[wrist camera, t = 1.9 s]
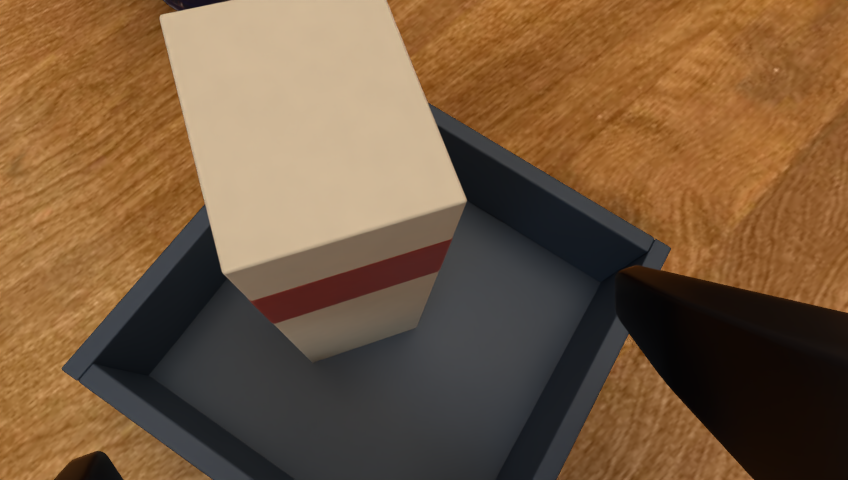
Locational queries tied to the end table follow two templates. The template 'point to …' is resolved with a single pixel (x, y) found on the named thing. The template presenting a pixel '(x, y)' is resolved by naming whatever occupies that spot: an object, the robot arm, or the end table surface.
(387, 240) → the plate
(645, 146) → the end table surface
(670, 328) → the robot arm
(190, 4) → the dark blue cylinder
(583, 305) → the box
